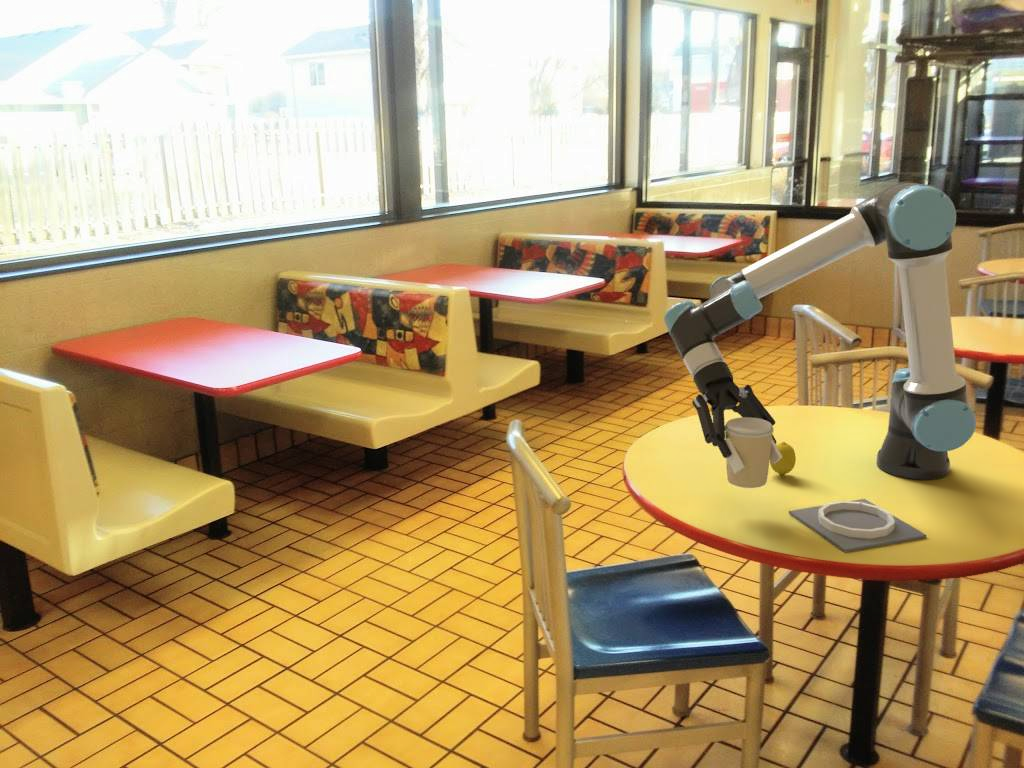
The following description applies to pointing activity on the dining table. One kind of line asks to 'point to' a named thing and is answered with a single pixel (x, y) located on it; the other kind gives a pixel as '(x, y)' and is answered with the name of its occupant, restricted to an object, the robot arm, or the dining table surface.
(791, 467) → the lemon
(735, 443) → the coffee cup
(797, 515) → the cup tray
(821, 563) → the dining table surface
